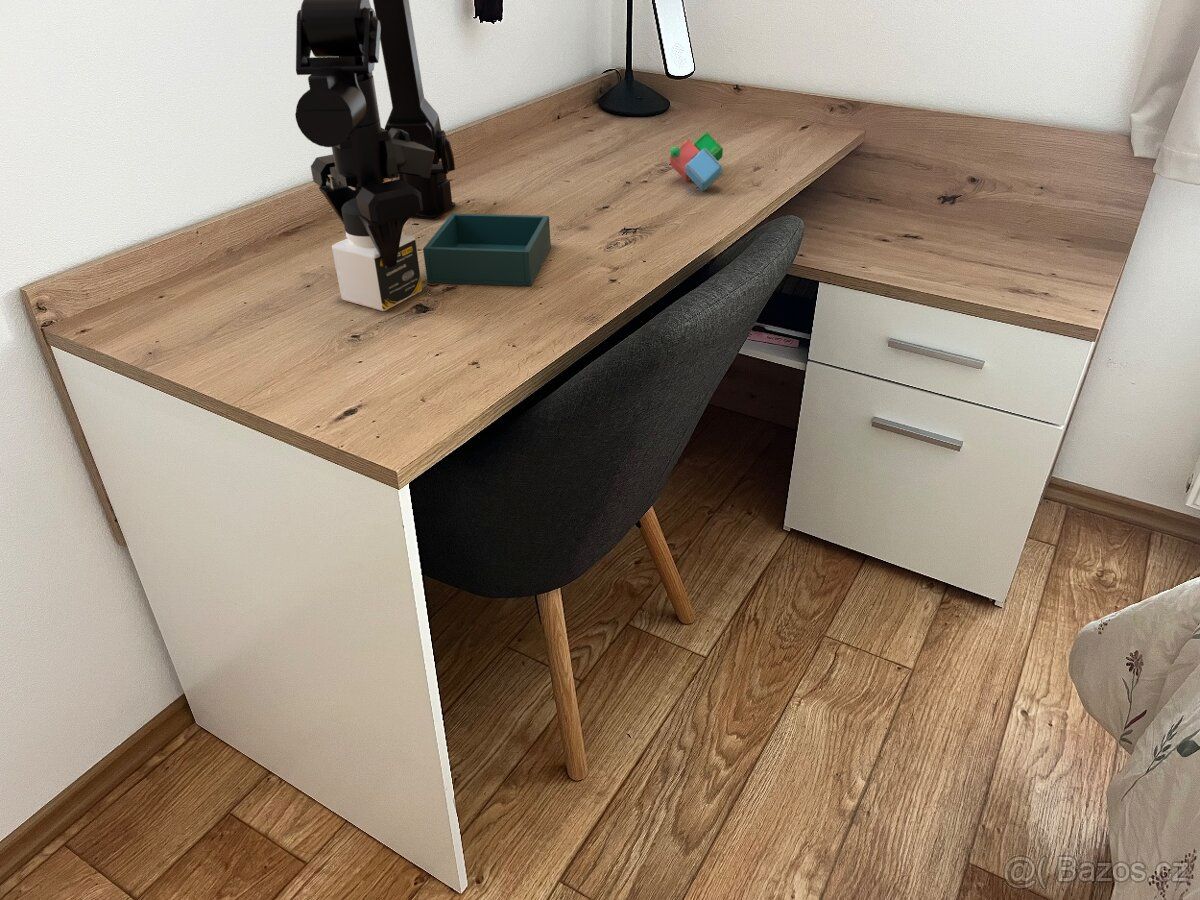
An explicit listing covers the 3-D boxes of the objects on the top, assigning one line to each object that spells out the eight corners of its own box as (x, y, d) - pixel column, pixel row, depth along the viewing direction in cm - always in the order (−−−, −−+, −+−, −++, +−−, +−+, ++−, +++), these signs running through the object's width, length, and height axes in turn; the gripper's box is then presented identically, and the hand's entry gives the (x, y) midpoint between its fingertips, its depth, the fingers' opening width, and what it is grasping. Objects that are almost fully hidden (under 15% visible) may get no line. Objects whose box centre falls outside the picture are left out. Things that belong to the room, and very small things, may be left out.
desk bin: (427, 282, 119) (422, 248, 116) (455, 244, 129) (451, 213, 127) (531, 286, 117) (528, 251, 114) (550, 247, 127) (549, 215, 125)
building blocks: (703, 206, 153) (702, 183, 141) (669, 171, 154) (666, 145, 142) (739, 173, 153) (741, 147, 141) (705, 138, 154) (705, 109, 142)
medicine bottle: (384, 312, 111) (367, 214, 105) (340, 300, 115) (322, 204, 108) (423, 291, 116) (410, 196, 110) (381, 280, 120) (365, 187, 113)
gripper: (457, 126, 101) (472, 262, 110) (387, 95, 114) (405, 219, 123) (360, 144, 96) (383, 286, 105) (297, 110, 109) (323, 238, 118)
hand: (375, 255), depth 113 cm, fingers closed on medicine bottle, 9 cm apart
